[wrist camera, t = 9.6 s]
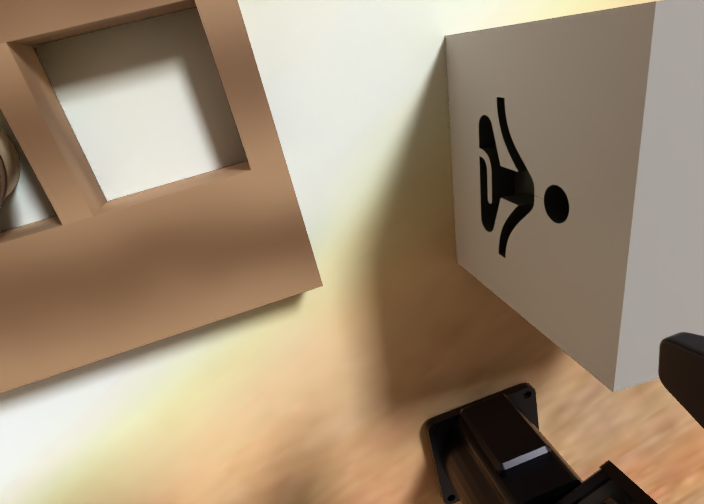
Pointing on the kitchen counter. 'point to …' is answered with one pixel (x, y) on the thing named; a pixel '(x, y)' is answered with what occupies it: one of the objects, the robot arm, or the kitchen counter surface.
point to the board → (137, 210)
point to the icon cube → (586, 177)
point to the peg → (8, 166)
